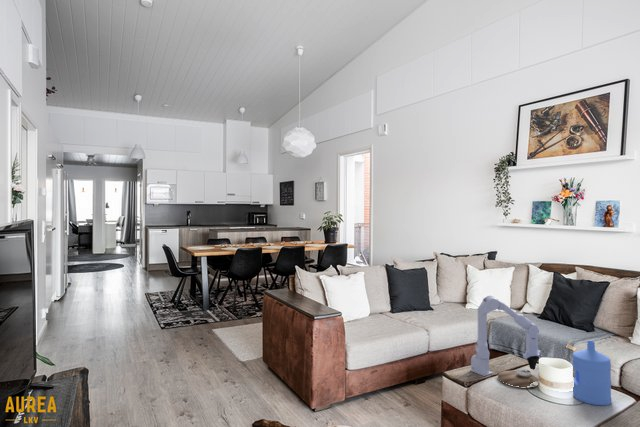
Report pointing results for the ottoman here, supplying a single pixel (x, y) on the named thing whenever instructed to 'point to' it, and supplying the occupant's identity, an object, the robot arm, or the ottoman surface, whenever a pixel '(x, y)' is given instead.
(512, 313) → the robot arm
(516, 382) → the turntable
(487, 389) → the ottoman surface
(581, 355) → the water jug
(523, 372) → the cover
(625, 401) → the ottoman surface
